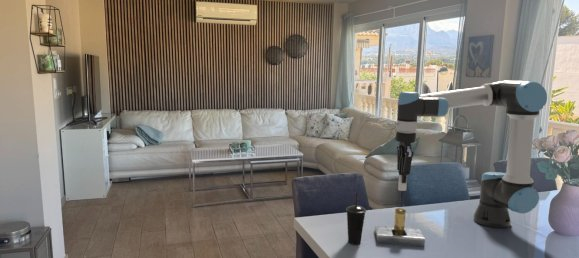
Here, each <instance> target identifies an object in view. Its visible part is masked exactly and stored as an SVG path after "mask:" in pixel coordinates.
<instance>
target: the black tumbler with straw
mask: <svg viewBox="0 0 579 258" xmlns="http://www.w3.org/2000/svg"><path fill="white" fill-rule="evenodd" d="M358 196H359V193H357V192H356V193H355V204H354V205H350V206H347V207H346V209H345V211H346V219H347V220H346V221H347V222H346V223H347V242H348V244H350V245H354V246H358V245H360V244H361V242H362V236H363V229H364V223H365V214H366V213H367V208H365V207H363V206H361V205H358V199H359V198H358Z"/></svg>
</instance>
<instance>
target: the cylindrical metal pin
mask: <svg viewBox="0 0 579 258" xmlns="http://www.w3.org/2000/svg"><path fill="white" fill-rule="evenodd" d="M406 212H407V210H406V209H405V208H400V207H399V208H395V211H394V224H393V225H394V226H393V227H394V235H401V236H404V228H406V227H405V225H406V224H405V223H406Z"/></svg>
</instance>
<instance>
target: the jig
mask: <svg viewBox="0 0 579 258" xmlns="http://www.w3.org/2000/svg"><path fill="white" fill-rule="evenodd" d="M374 233H375V238H376V243H377V244H385V245H386V244H388V245H397V244H398V245H399V246H411V247H426V246H425V243H426V238H425V237H424V235H423V234H422V233H423V232H421V230H420V228H418V227H417V228H414V227H404V236H401V235H394V226H387V225H375V227H374ZM398 245H397V246H398Z"/></svg>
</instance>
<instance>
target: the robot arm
mask: <svg viewBox="0 0 579 258" xmlns="http://www.w3.org/2000/svg"><path fill="white" fill-rule="evenodd" d="M547 101H548V93H547V90H546V88H545V87H544V86H543V85H542V84H541V83H540V82H537V81H533V80H519V79H518V80H517V79H505V80H499V81H494V82H488V83H483V84H482V85H480V86H477V87H470V88H463V89H462V88H461V89H454V90H453V89H452V90H447V91H439V92H431V93H422V94H420V93H419V92H417V91H401V92H400V93H399V94H398V98H397V114H396V115H397V116H396V117H397V118H396V119H397V120H396V122H395V126H396V132H395V141H396V142H397V143H399V145H397V146H396V152H397V153H396V157H397V159H396V161H397V162H396V163H397V167H396V171H398V185H397V186H398V187H397V190H398V191H401V192H402V191H403V192H404V191H406V192H407V184H408V176H410V175H411V168H412V161H413V158H414V157H413V156H414V151H412V149H413V148H412V144H413V143H416V139H417V133H416V132H417V131H418V128H417V126H418V117H420V118H421V117H431V118H432V117H435V118H440V117H446V116H447V114H448V113H449V109H457V108H465V107H472V106H479V105H480V106H481V105H482V106H484V107H489V106H490V107H491V106H495V107H502V108H503V107H504V108H506V111H505V114H506V115H507V116H508V117H509V129H508V141H507V143H508V144H507V159H506V171H505V172H500V171H499V172H497V171H488V172H487V171H486V172H484V173H482V175H481V179H480V181H481V182H480V195H479V203H478V205H477V208H476V209H475V212H474V214H473V221H474V222H475V223H477V224H479V225H482V226H484V227H490V228H495V229H496V228H497V229H505V228H506V229H507V228H509V227H510V226H511V221H512V220H511V217H510V211H511V212H515V213H518V214H527V213H530V212H532V211H533V209H535V208H536V207H537V206H538V204H539V202H540V194H539V192H538V191H537V190H536V189H535V188H534V179H533V178H532V177H531V164H532V154H533V153H532V151H533V138H534V127H535V126H534V125H535V119H536V118H537V117H538V116H539V115H540V111H541V110H542V109H543V108H544V106H546V104H547ZM509 210H510V211H509Z"/></svg>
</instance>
